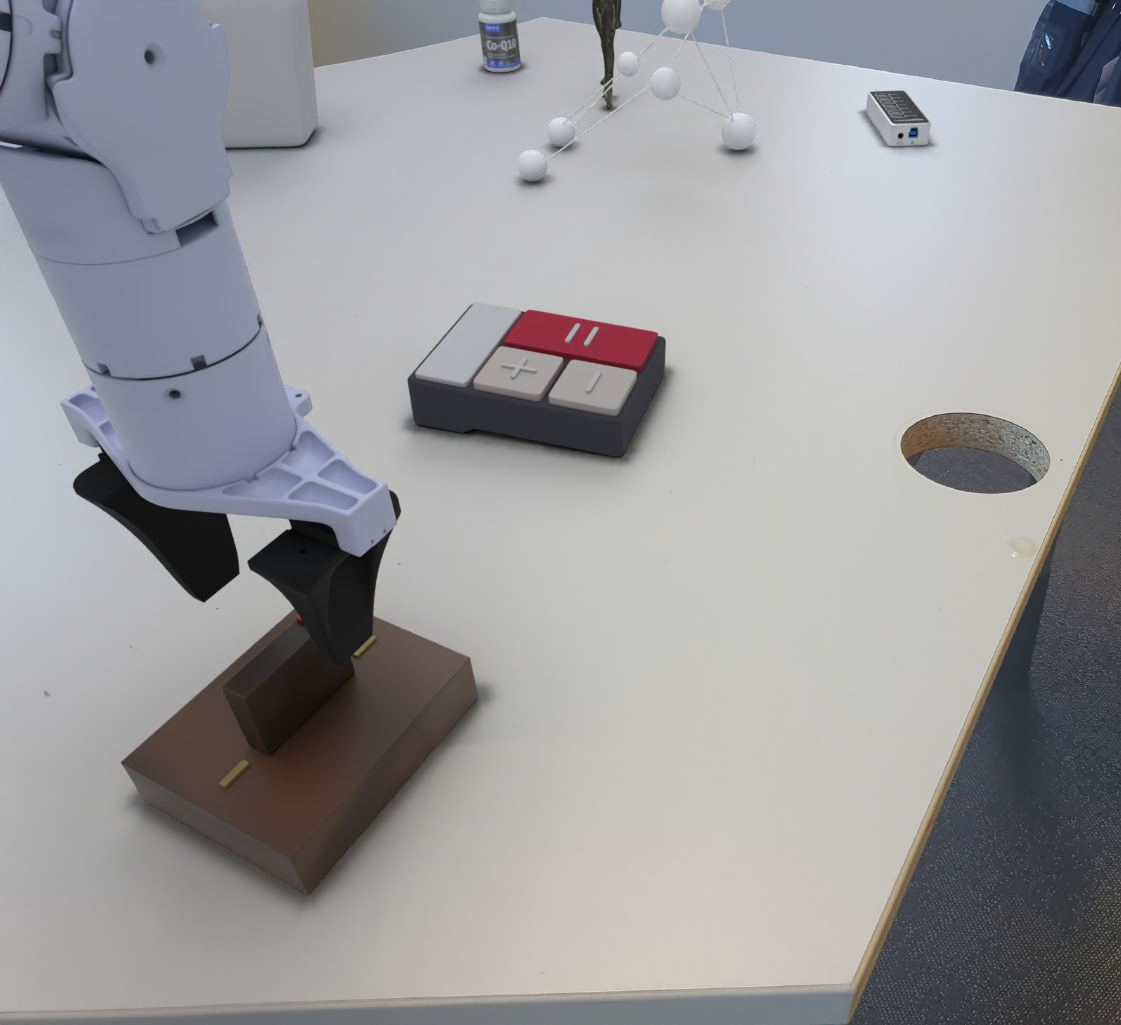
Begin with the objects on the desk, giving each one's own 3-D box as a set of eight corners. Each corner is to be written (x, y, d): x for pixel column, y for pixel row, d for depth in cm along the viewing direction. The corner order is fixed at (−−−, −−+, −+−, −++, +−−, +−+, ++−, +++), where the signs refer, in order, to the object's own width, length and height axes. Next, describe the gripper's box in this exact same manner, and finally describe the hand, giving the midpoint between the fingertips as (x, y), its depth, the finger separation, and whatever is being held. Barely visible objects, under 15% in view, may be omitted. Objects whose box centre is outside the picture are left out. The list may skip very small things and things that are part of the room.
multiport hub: (902, 110, 115) (905, 90, 114) (928, 145, 107) (932, 123, 106) (864, 111, 115) (867, 91, 114) (888, 146, 107) (891, 124, 105)
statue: (580, 112, 115) (566, -86, 102) (591, 94, 120) (579, -97, 107) (620, 114, 115) (611, -85, 102) (629, 96, 120) (622, -97, 107)
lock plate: (308, 895, 42) (288, 855, 40) (144, 800, 46) (118, 759, 44) (479, 696, 50) (470, 655, 48) (328, 629, 54) (313, 587, 52)
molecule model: (765, 188, 103) (776, 20, 88) (523, 209, 102) (493, 42, 87) (745, 107, 111) (752, -60, 96) (520, 125, 109) (492, -41, 95)
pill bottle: (488, 75, 126) (478, 2, 120) (481, 64, 129) (472, -7, 124) (524, 71, 127) (517, -1, 122) (517, 60, 130) (509, -10, 125)
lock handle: (270, 756, 44) (242, 694, 41) (247, 744, 44) (217, 682, 41) (356, 670, 47) (335, 609, 45) (333, 660, 48) (312, 598, 45)
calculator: (622, 413, 63) (402, 370, 65) (621, 466, 65) (411, 423, 68) (668, 327, 71) (471, 292, 73) (665, 377, 73) (476, 342, 76)
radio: (341, 122, 113) (283, -139, 97) (325, 149, 107) (260, -125, 91) (145, 126, 112) (53, -136, 96) (117, 153, 106) (14, -122, 90)
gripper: (421, 331, 33) (477, 611, 42) (125, 243, 39) (230, 509, 47) (265, 442, 29) (364, 732, 37) (-49, 325, 34) (103, 604, 43)
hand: (281, 615), depth 42 cm, fingers open, 7 cm apart
